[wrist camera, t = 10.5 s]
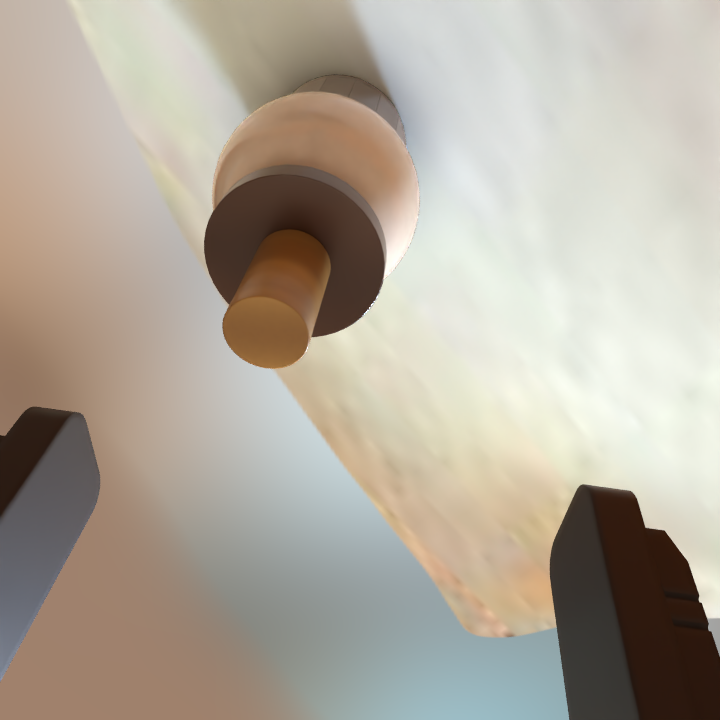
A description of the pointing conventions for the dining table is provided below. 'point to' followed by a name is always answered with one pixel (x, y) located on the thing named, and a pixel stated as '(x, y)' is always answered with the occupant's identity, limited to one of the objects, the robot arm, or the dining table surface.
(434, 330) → the dining table surface
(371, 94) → the stand
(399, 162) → the ball
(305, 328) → the knob on round base
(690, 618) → the robot arm
